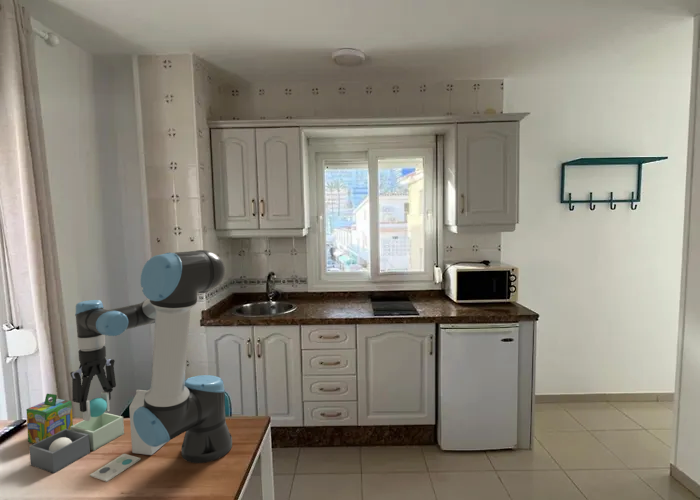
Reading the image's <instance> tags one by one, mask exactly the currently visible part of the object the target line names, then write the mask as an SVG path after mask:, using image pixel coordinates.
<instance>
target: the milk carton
mask: <svg viewBox="0 0 700 500" xmlns="http://www.w3.org/2000/svg"><path fill="white" fill-rule="evenodd" d="M147 391H148V390H145V389H144V390H143V389H136V391H135V392H136V394H135V395H134V397H133V399H132V401H131V403H130V404H129V421H130V422H129V425H130V437H131V438H130V440H131V452H132V454H137V455H138V454H140V455H146V456H152V455H154V454H155V453H157V451H158V450H159V449H161V448H162V447H163V446H165V445H166V443H164V444H162V445H159V446H157V447H152V446H149V445H147V444H146V443H145V442H144V441H143V440H142V439H141V438H140V437H139V435H138V433H137V431H136V429H135V426H134V421H133V415H134V412H135V411H136V410H137V409H138V408H139V407H142V406H143V405H144V396H145V393H146V392H147Z"/></svg>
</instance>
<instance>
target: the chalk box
mask: <svg viewBox="0 0 700 500" xmlns="http://www.w3.org/2000/svg"><path fill="white" fill-rule="evenodd" d="M57 397H58V394H55V393H54V394H53V393H46V394H45V397H44V398H45V399H44V401H42V402H40V403H38V404H36V405H33V406H30V407H28V408H27V409H26V420H27V421H26V423H27V424H26V425H27V428H26V429H27V442H28V443H32V444H35V443H37V442H39V441H41V440H43V439H46V438H48V437H50V436H52V435H54V434H56V433H58V432H60V431H62V430H64V429H70V427H71V426H73V425H74V423H73V422H74V421H73V420H74V419H73V405H72V404H73V403H72V402H73V401H72V400H68V399H61V398H57Z"/></svg>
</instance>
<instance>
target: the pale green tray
mask: <svg viewBox="0 0 700 500" xmlns="http://www.w3.org/2000/svg"><path fill="white" fill-rule="evenodd" d="M124 423H125V422H124V416H123V415H122V416H121V415H117V414H112V413H108V412H106V411H105V412H104V413H103V414H102V415H100V416H98V417H91V420H90V421H86V420H83V419H82V420H81V421H79V422H77V423H75V424H73V426H71V427H70V430H73V431H77V432H80V433H84V434H88V435H89V446H90V451H96V450H98V449H99V448H101V447H103V446H105V445H107V444H109V443H110V442H112V441H115V439H118V438H119V437H122V436H123V435H125V425H124Z"/></svg>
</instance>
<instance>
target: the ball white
mask: <svg viewBox="0 0 700 500" xmlns="http://www.w3.org/2000/svg"><path fill="white" fill-rule="evenodd" d="M70 443H72V441H71V440H70V439H69V438H66V437H61V438H58V439H56V440H55V441H53V442H52V444H51V445H50V447H49V451H51V452H54V451H56V450H58V449H60V448H62V447H64V446H66V445H68V444H70Z"/></svg>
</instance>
